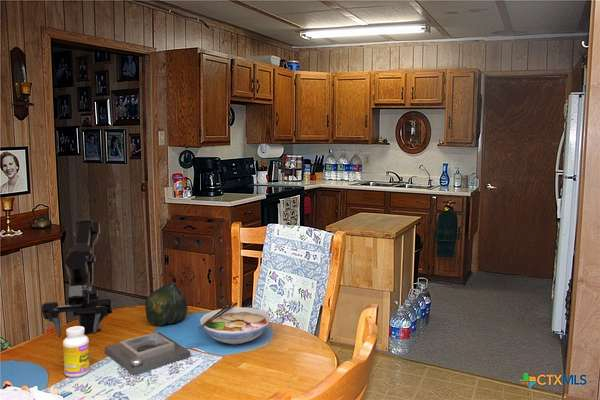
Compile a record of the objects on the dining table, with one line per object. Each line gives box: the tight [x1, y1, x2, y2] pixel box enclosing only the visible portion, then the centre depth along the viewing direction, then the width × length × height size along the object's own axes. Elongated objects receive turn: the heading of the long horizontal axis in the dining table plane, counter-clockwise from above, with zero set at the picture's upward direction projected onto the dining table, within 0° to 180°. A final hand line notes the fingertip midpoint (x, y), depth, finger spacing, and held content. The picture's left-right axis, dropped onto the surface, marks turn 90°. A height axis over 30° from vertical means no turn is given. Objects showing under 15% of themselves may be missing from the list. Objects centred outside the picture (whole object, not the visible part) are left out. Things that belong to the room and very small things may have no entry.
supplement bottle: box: [62, 325, 91, 378], centre depth 148 cm, size 7×7×13 cm
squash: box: [144, 282, 189, 327], centre depth 188 cm, size 14×15×15 cm
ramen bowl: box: [197, 301, 272, 346], centre depth 172 cm, size 25×23×8 cm
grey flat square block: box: [104, 331, 191, 376], centre depth 161 cm, size 20×18×4 cm
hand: (76, 335), depth 151 cm, fingers open, 9 cm apart
